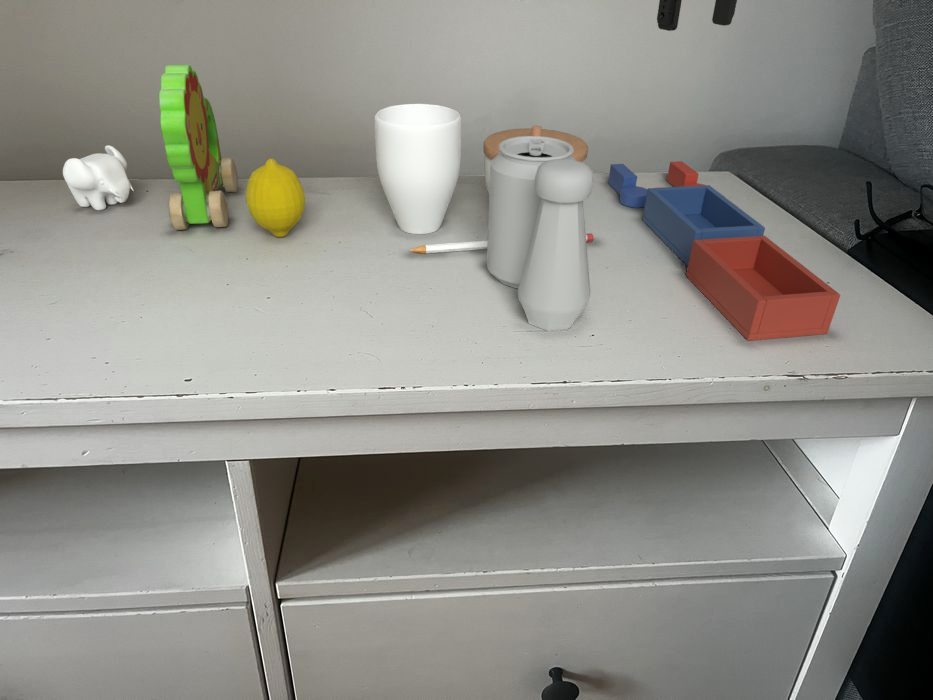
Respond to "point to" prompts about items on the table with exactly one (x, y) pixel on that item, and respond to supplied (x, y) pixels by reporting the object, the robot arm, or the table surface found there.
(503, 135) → the trinket box
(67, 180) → the elephant figurine
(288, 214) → the fruit
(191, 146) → the toy lion
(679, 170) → the red spoon
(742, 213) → the blue bin
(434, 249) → the pencil
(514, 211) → the can
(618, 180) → the blue spoon
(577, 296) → the salt shaker
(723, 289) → the red bin
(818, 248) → the table surface
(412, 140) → the mug
